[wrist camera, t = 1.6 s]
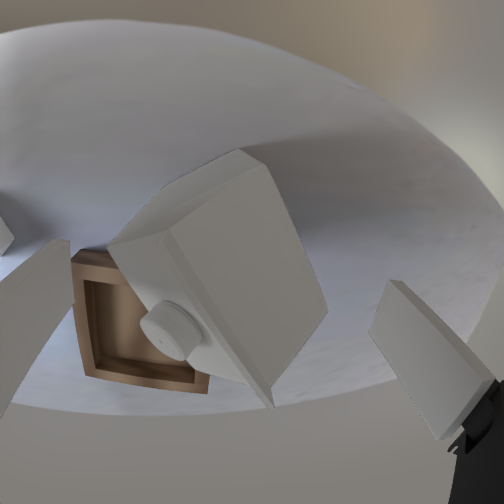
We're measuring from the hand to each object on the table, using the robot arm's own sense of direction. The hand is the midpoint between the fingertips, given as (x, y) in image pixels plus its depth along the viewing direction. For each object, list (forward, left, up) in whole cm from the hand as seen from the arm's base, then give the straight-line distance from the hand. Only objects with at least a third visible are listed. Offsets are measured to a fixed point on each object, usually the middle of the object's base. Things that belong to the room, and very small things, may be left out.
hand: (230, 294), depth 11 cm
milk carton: (0, 0, -16) cm, 16 cm away
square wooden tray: (-6, -13, -16) cm, 22 cm away
